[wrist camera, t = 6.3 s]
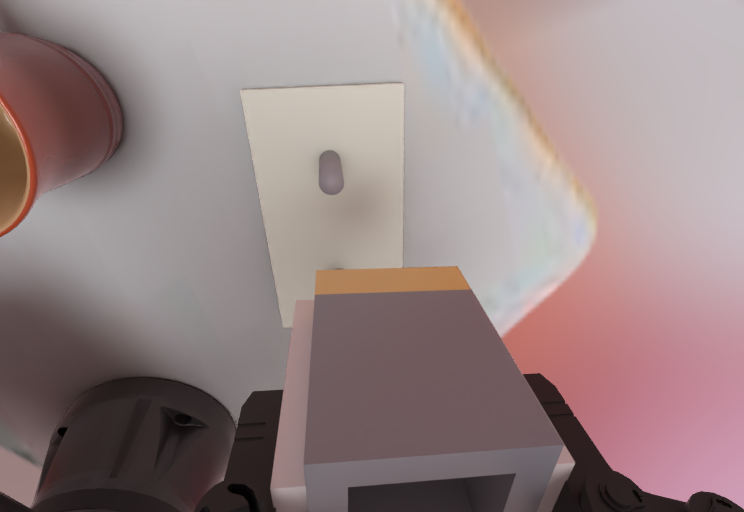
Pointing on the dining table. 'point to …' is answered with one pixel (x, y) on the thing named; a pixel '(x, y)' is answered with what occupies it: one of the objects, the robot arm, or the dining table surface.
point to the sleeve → (418, 400)
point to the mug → (49, 122)
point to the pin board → (327, 180)
